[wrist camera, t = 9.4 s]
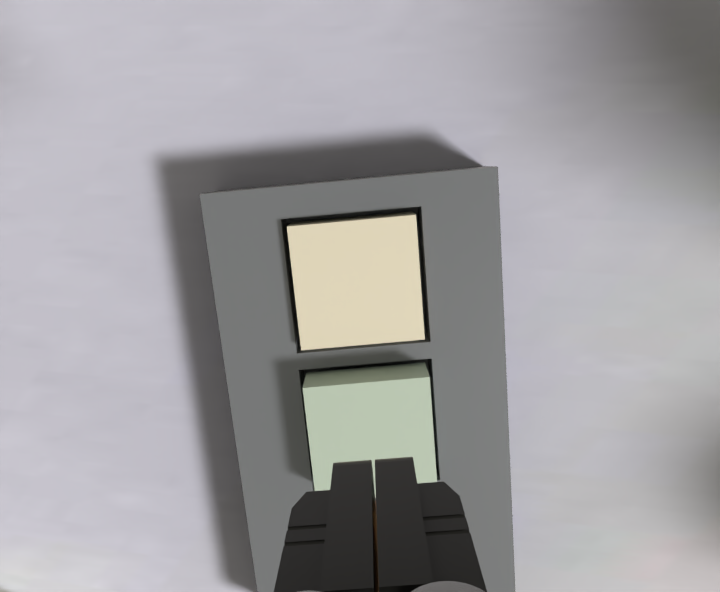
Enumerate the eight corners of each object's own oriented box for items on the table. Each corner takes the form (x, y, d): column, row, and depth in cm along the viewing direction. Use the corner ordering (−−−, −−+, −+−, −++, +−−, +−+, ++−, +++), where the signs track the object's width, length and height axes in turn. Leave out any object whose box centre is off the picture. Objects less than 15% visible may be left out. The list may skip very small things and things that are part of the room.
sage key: (306, 372, 28) (302, 387, 26) (424, 362, 28) (429, 376, 26) (318, 480, 30) (316, 502, 28) (432, 470, 29) (437, 492, 28)
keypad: (215, 191, 29) (199, 194, 26) (483, 166, 29) (497, 166, 26) (272, 601, 34) (264, 643, 31) (502, 583, 34) (516, 623, 31)
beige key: (291, 222, 28) (286, 226, 26) (412, 211, 28) (416, 214, 26) (305, 337, 29) (301, 350, 27) (420, 327, 29) (424, 339, 27)
